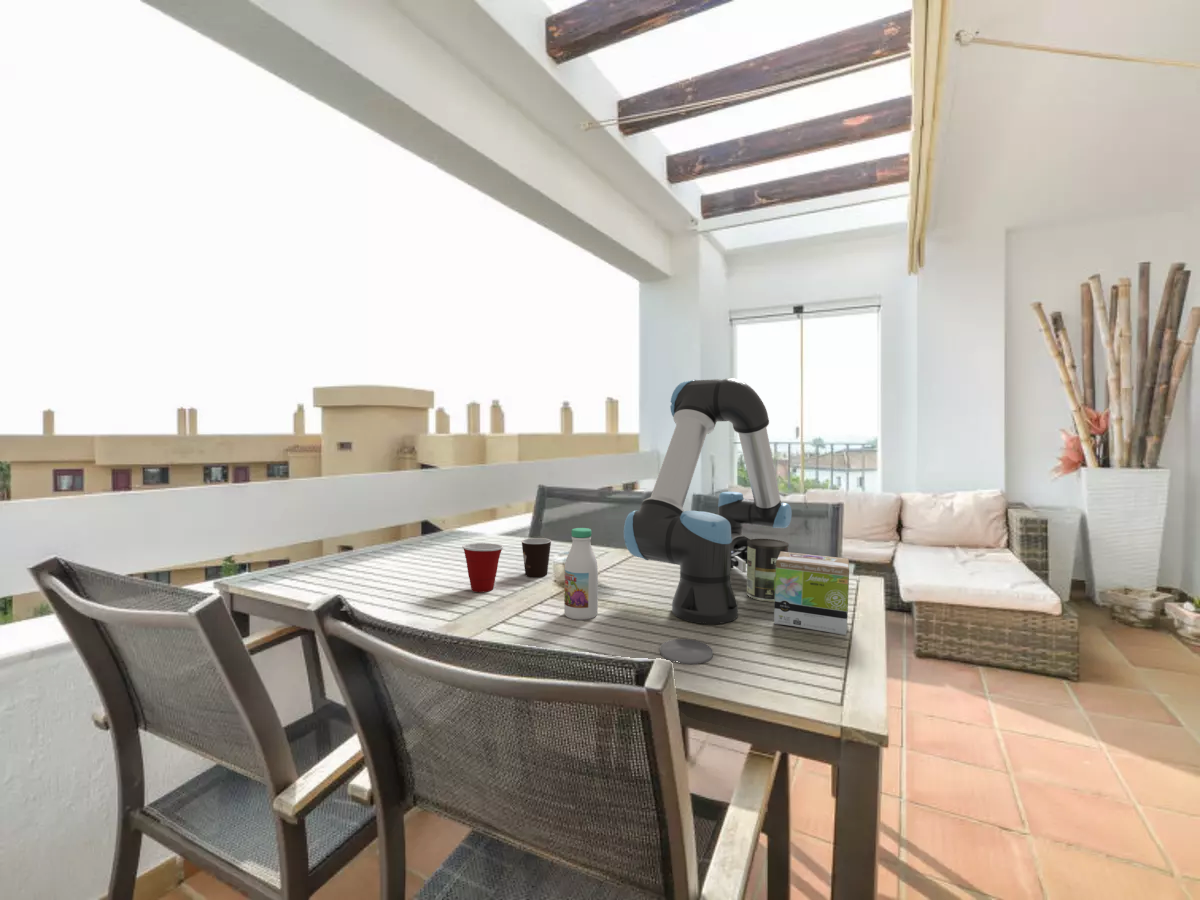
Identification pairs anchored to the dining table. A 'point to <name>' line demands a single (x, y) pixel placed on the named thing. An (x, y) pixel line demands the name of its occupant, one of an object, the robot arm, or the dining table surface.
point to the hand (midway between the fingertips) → (769, 566)
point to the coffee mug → (536, 556)
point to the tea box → (812, 592)
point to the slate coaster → (686, 651)
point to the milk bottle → (581, 577)
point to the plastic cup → (482, 565)
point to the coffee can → (763, 567)
